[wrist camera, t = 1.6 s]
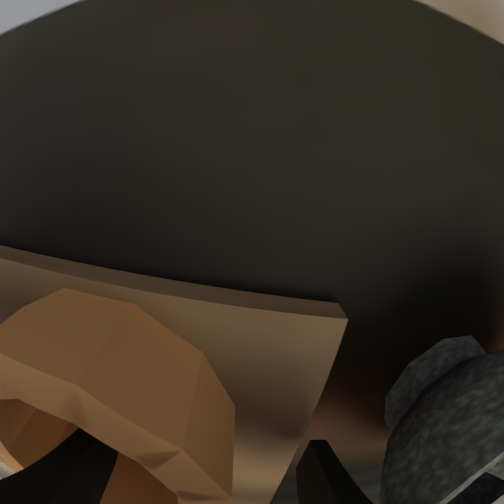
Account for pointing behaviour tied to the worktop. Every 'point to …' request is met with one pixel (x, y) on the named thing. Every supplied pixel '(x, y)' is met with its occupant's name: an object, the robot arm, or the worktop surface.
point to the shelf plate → (217, 350)
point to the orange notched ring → (116, 398)
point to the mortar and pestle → (446, 427)
